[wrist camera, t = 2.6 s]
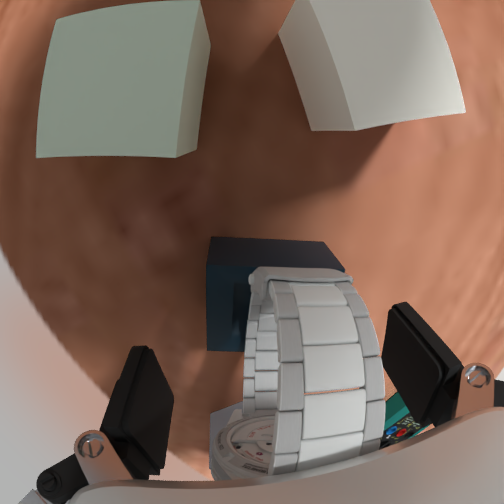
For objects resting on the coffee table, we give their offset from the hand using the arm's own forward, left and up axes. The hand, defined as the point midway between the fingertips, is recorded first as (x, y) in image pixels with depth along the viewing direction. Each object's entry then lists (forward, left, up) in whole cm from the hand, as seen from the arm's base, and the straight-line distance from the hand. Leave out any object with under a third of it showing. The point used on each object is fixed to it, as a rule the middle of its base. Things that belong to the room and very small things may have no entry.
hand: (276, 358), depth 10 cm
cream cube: (-11, +5, -5) cm, 13 cm away
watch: (-1, 0, -5) cm, 5 cm away
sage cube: (-11, -4, -5) cm, 12 cm away
